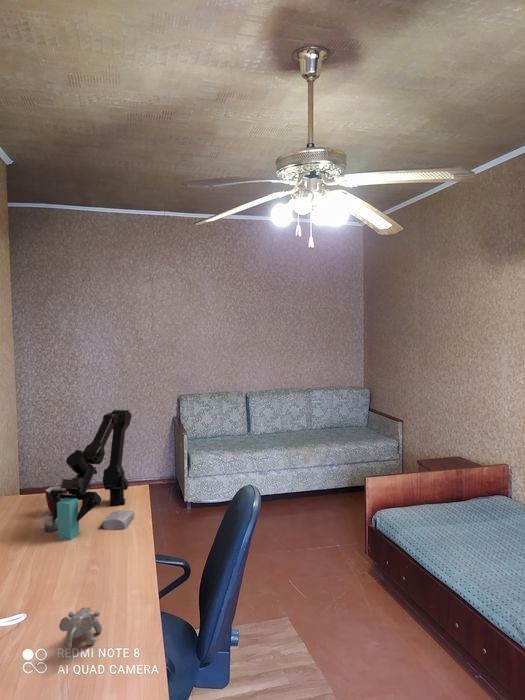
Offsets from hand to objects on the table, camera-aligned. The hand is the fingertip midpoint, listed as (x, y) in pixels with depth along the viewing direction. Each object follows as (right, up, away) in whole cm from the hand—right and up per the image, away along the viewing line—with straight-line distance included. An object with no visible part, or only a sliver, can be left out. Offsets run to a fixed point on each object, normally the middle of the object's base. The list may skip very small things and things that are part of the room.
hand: (65, 519), depth 175 cm
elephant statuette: (+27, -9, -59) cm, 65 cm away
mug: (-13, -6, +25) cm, 29 cm away
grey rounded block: (-8, -6, +8) cm, 13 cm away
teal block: (+1, -7, +2) cm, 7 cm away
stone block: (+15, -6, +13) cm, 21 cm away
